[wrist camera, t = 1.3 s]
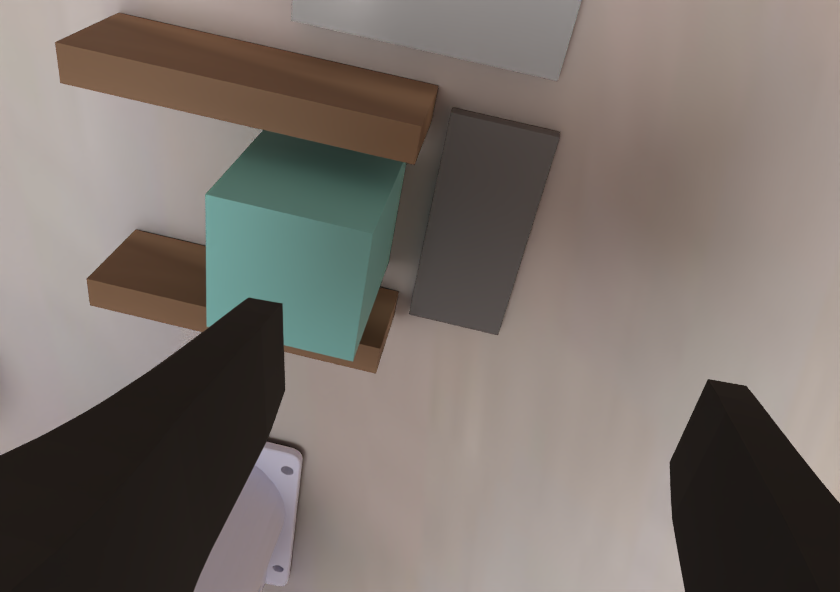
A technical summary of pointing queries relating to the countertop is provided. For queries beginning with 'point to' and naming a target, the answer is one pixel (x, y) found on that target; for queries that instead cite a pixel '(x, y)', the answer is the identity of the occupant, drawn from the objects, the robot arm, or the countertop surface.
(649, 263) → the countertop surface
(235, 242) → the block
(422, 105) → the channel
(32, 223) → the countertop surface
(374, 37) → the tile
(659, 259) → the countertop surface
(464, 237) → the mat
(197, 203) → the countertop surface
